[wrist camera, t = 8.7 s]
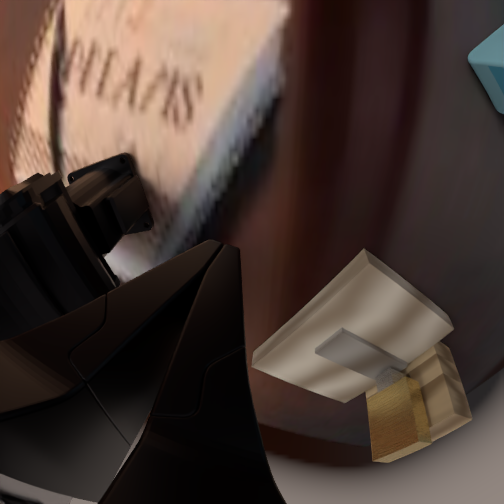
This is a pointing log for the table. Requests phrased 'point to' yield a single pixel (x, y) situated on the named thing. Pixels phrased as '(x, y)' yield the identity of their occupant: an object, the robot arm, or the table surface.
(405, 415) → the bolt
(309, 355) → the door and jamb
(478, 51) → the data package
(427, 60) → the table surface
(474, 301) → the table surface
